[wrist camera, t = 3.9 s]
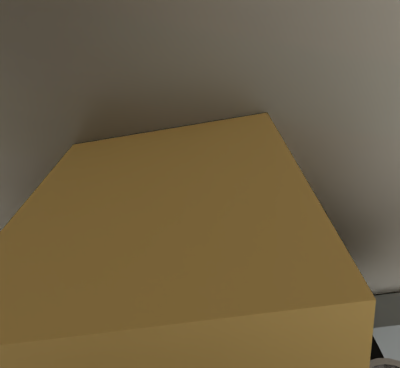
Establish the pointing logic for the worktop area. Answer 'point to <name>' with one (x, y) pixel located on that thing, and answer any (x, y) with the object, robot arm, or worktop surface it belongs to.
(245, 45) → the worktop surface
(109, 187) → the ochre block
